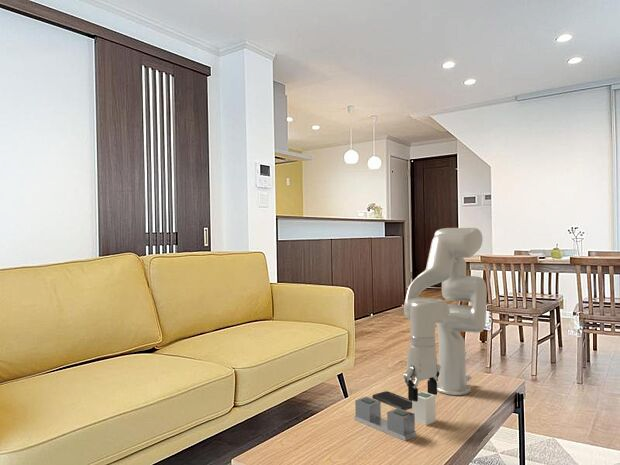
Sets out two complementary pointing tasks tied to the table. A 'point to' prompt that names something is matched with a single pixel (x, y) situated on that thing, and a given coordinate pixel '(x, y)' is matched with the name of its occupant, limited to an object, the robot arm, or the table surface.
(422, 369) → the robot arm
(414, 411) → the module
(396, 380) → the table surface
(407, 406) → the phone
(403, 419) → the rail
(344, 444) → the table surface
